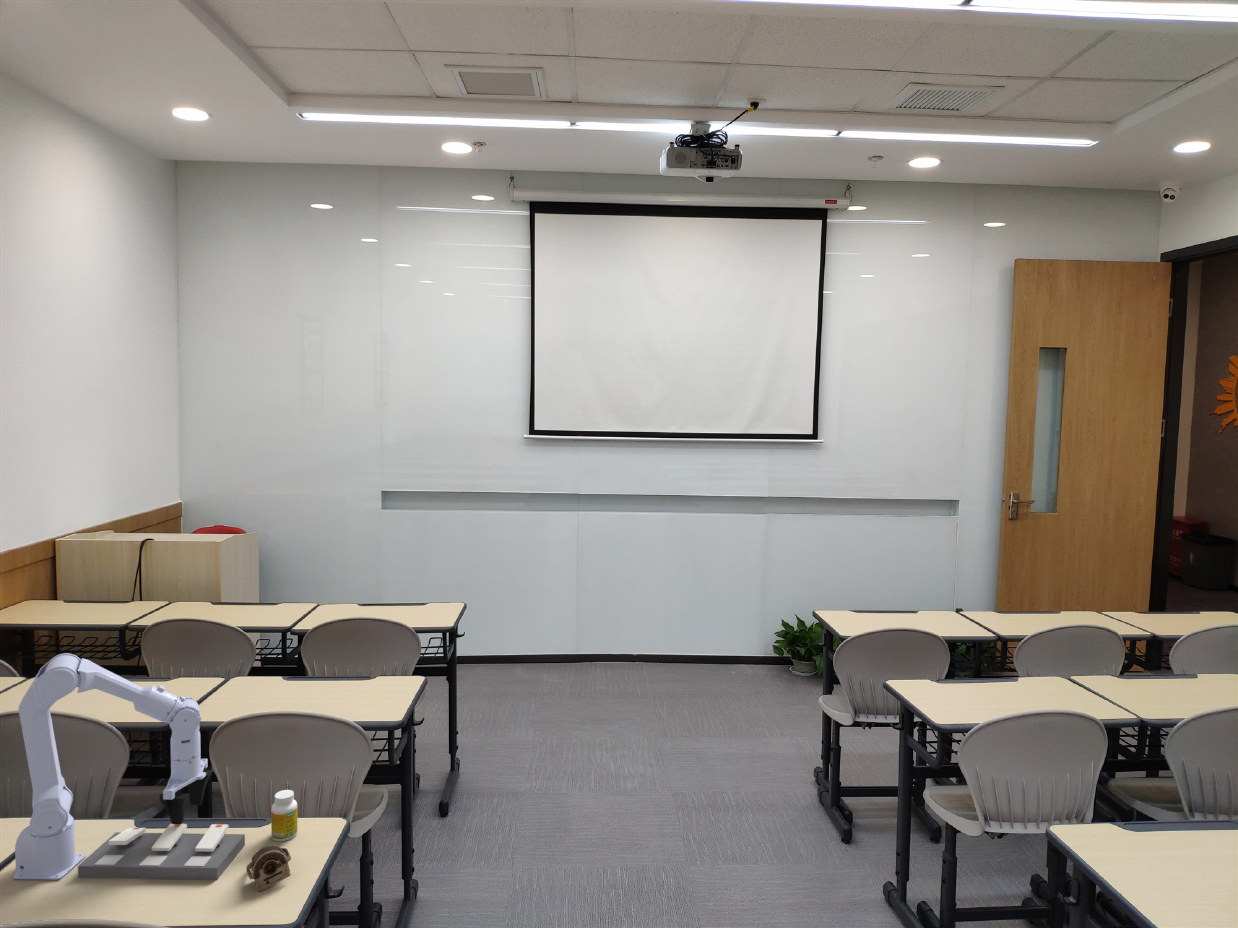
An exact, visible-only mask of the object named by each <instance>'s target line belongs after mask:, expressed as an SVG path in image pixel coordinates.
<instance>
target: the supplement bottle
mask: <svg viewBox="0 0 1238 928" xmlns="http://www.w3.org/2000/svg"><path fill="white" fill-rule="evenodd" d="M270 810H271V816H270V817H271V823H270V824H271V827H270V828H271V829H270V831H271V839H272V840H273V841H275V842H285V841H289V840H292V839H293V838H294V837H296V836H297V834H298V803H297V800H296V799H295V793H294V790H291V789H282V790H279V791H278V792H276V793H275V795H274V803H272V805H271V809H270Z"/></svg>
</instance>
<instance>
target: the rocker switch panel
mask: <svg viewBox="0 0 1238 928" xmlns="http://www.w3.org/2000/svg"><path fill="white" fill-rule="evenodd" d="M120 833H122V831H121V832H114V833H113V834H112V835H111V836H110V837H109V838H108V839H106V841H105V842H103V843H102V844H101V845H100V846H99V847H97V848H96V849H95V850H94V851H93V852H92V853H91V854H89V856H88V857H85V858H84V860H83V861H81V863H80V864H79V865H78V866H77V875H78V877H77V878H78V879H79V878H80V879H141V880H142V879H143V880H144V879H145V880H146V879H148V880H150V879H151V880H217V881H218V880H219V879H220V877H221V876H222V874H223V873H224V872H225V871H226V869H227V868H228V867H229V866H230V865H231V863H232V862H233V861H234V859H236V857H237V856H238V854H239V853H240V852H241V851H242V849H243V848H244V847H245V845H246V834H244V833H242V834H241V833H239V834H238V833H236V834H235V833H225V834H224V836H223V837H222V839H221V840H220V842H219V843H218V845H217V846H216V848H215V849H214V851H213V852H202V851H195V848H196V846H197V845H198V843H199V842H200V840H201V839H202V838H203V836H204V835H205V833H188V832H187V833H186V832H185V833H184V832H183V833H182V835H181V836H180V837H179V839H178V840H177V842H176V843H175V844H174V846H173V847H172V848H171V850H170V851H152V846H153V845H154V844H155V843H156V841H157V840H158V839H159V837H160V836H161V835H162V834H163V832H144V833H143V834H141V835H140V836H138V837H137V838H135V840H132V841H131V842H129V843H128V844H126V845H108V841H109V840H111V839H112V838H114V837H115V836H117V835H118V834H120Z"/></svg>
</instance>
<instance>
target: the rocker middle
mask: <svg viewBox="0 0 1238 928" xmlns="http://www.w3.org/2000/svg"><path fill="white" fill-rule="evenodd" d="M187 828H188V825H187V823H182V824H172V823H169V825H168V826H167V827H166V828H165V830H164V831H163V832H162V833H163V834H162V835H161V836H160V837H159V839H158V840H157V841H156V843H155V844H154V845H153V846H152V851H170V850H171V848H172V847H173V846H174V844H175V843H176V842H177V840H178V839H179V837H180V836H181V835H182V833H184V832H185V830H186V829H187Z"/></svg>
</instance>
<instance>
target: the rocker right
mask: <svg viewBox="0 0 1238 928" xmlns="http://www.w3.org/2000/svg"><path fill="white" fill-rule="evenodd" d="M229 826H230V825H229V824H225V823H224V824H222V823H220V824H219V823H215V824H213V823H212V824H211V825H210V826H209V828H208V829H207V830H206V832H205V833H204V834H205V835H204V836H203V838H202V839H201V840H200V842H199V843H198V845H197V846H196V848H195V851H202V852H213V851H214V849H215V848H216V846H217V845H218V843H219V842H220V840H221V839H222V837H223V836H224V834H227V831H228V829H229V828H230V827H229Z"/></svg>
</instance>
